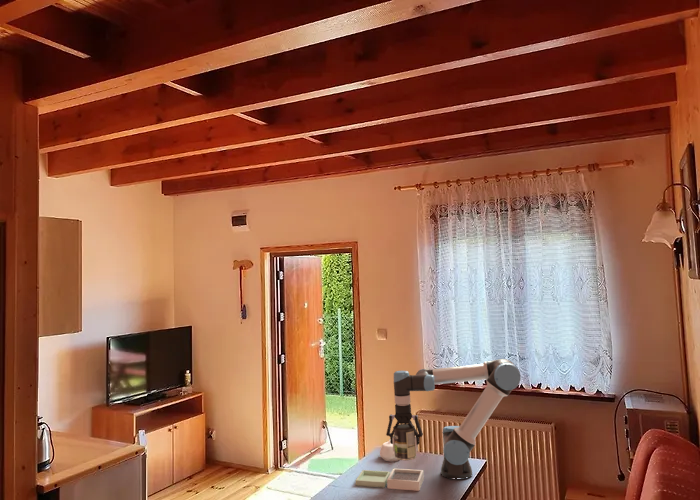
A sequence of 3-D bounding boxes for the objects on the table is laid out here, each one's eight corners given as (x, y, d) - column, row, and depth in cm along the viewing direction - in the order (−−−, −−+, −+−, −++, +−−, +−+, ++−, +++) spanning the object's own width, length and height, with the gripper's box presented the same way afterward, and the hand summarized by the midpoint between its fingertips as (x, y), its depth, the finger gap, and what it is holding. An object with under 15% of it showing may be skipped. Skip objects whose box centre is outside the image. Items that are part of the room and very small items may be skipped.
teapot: (407, 464, 278) (406, 444, 279) (384, 466, 276) (384, 446, 276) (398, 452, 298) (397, 433, 298) (376, 454, 296) (375, 435, 296)
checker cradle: (423, 478, 257) (423, 470, 257) (419, 490, 242) (419, 481, 242) (393, 476, 261) (393, 468, 261) (387, 488, 246) (387, 479, 246)
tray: (390, 476, 261) (390, 471, 261) (384, 487, 247) (384, 482, 247) (362, 475, 264) (362, 469, 264) (355, 485, 251) (355, 480, 251)
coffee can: (397, 461, 246) (395, 430, 247) (393, 454, 257) (391, 424, 257) (418, 459, 247) (416, 429, 248) (414, 452, 257) (412, 423, 258)
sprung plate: (420, 475, 256) (420, 473, 256) (416, 485, 244) (416, 483, 244) (395, 474, 259) (395, 472, 259) (390, 483, 247) (390, 481, 247)
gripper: (427, 402, 254) (430, 449, 253) (381, 401, 260) (383, 447, 259) (425, 406, 247) (428, 454, 246) (378, 405, 253) (380, 452, 252)
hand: (405, 451), depth 252 cm, fingers closed on coffee can, 10 cm apart
